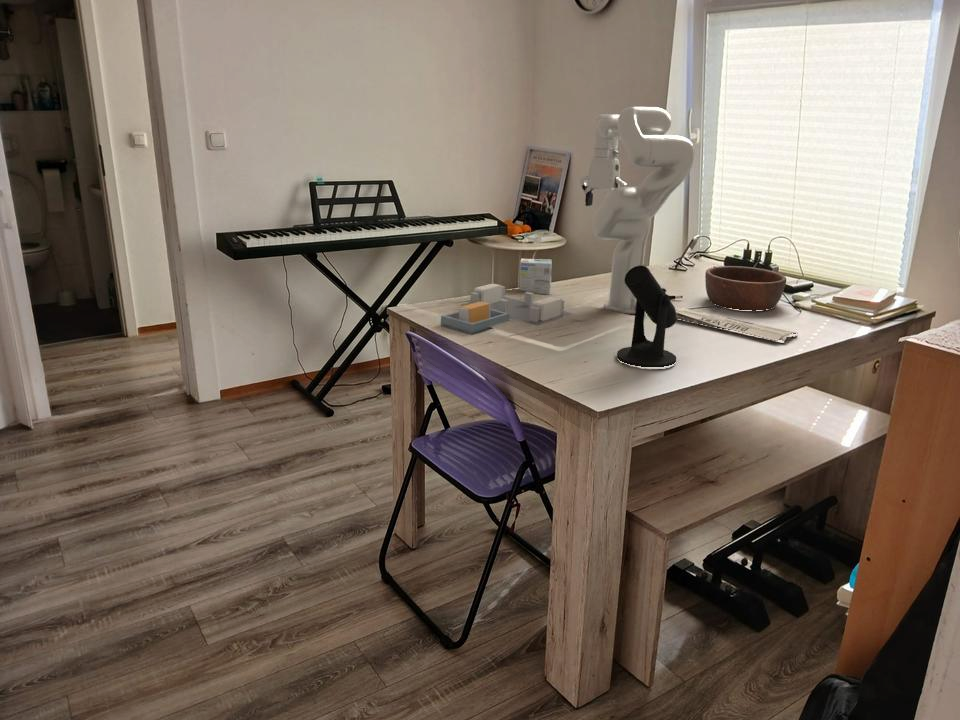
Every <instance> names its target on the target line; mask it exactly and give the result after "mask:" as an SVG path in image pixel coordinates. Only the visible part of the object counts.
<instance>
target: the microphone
mask: <svg viewBox="0 0 960 720" xmlns="http://www.w3.org/2000/svg"><path fill="white" fill-rule="evenodd" d="M625 284H626V285H627V287H628V288H629V290H630V291H631V292H632V294H633V295H634V297H635V298H636V299H637V302H636V311H635V314H634V322H633V329H632V338H631V339H632V340H631V346H627V347H623V348H620V349H619V350H617V352H616V359H617V358H618V359H619V360H620V361H622V362H624V363H627V364H630V365H635V366H641V367H664V366H669V365H672V364H674V363H675V362H676V363H677V356H676V355H675V354H674V353H672V352H671V351H669V350H665V338H666V329H670V328H672V327H673V326H674V325H675V324H676V323H677V321H678V320H677V317H676V310H677V309H676V308H675V305H674V304H673V302H672V301H671V299H672V297H671V296H670V295H669V294H667V293H666V292H667V289H665V288H664V287H662V286H661V285H660V284H659V283H658V281H657V279H656V278H655V277H654V275H653V273H652V272H651V270H650V269H649V268H648V267H647V266H646V265H643V266H641V265H640V266H636V267H633V268H632V269H630V270H629V271H628V272H627V274H626V276H625ZM645 314H646V315H647V317H648V318H649V320H650V321H651V322H653V323H654V324H655V325H656V326H655V333H654V336H653V341H651V340H649V339H647V338H646V336H645V322H644V321H645Z"/></svg>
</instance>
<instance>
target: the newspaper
mask: <svg viewBox="0 0 960 720" xmlns="http://www.w3.org/2000/svg"><path fill="white" fill-rule="evenodd" d="M675 310H676V317H677V319H681V320H685V321H689V322H694V323H698V324H703V325H707V326H711V327H717V328H722V329H728V330H734V331H738V332H742V333H746V334H750V335H754V336H758V337H762V338H766V339H770V340H774V341H778V340H782V341H786V339H788V338H787V336H789V335H790V334H792V333H793V334H796V333H797V332H796V331H790V330H785V329H781V328H776V327H772V326H767V325H762V324H757V323H753V322H749V321H743V320H739V319H733V318H730V317H725V316H720V315H716V314H712V313H708V312H703V311H699V310H694V309H690V308H687V307H682V308H677V309H675ZM689 322H688V323H689ZM698 324H697V325H698ZM707 326H706V327H707ZM711 327H710V328H711Z"/></svg>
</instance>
